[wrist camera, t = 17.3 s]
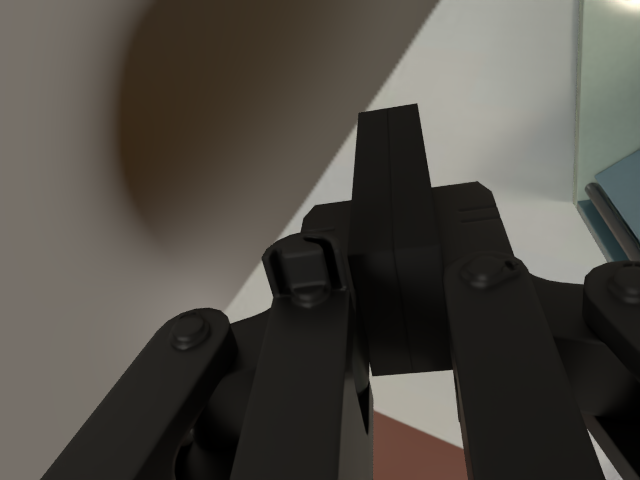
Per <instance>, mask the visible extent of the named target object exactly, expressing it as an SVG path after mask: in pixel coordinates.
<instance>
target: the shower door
mask: <svg viewBox="0 0 640 480" xmlns="http://www.w3.org/2000/svg"><path fill="white" fill-rule="evenodd" d="M595 178H596V180H597V181H598V183H599V184H600V186H601V187H602V189H603V190H604V191H605V193H606V194H607V196H608V197H609V198H610V200H611V201H612V203H613V204H614V206H615V207H616V208H617V210H618V211H619V213H620V214H621V216H622V217H623V218H624V220H625V221H626V223H627V224H628V225H629V227H630V228H631V230H632V231H633V233H634V234H635V235H636V237H637V238H638V240H639V241H640V150H638V151H636V152H635V153H633V154H631V155H630V156H628V157H626V158H624V159H623V160H621V161H619V162H618V163H616V164H614V165H613V166H611V167H609V168H607V169H606V170H604V171H602V172H601V173H599V174H597V175H595Z"/></svg>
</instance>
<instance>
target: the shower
mask: <svg viewBox="0 0 640 480" xmlns="http://www.w3.org/2000/svg"><path fill="white" fill-rule="evenodd" d="M638 150H640V0H580V1H579V32H578V64H577V95H576V126H575V157H574V189H573V204H574V206H575V207H576V209H577V211H578V212H579V214H580V216H581V218H582V219H583V221H584V223H585V224H586V226H587V228H588V230H589V231H590V233H591V235H592V236H593V238H594V240H595V242H596V243H597V245H598V247H599V248H600V250H601V252H602V253H603V255H604V257H605V259H606V260H607V262H615V261H623V260H629V261H640V241H639V240H638V238H637V237H636V235H635V234H634V233H633V231H632V230H631V228H630V227H629V225H628V224H627V223H626V221H625V220H624V218H623V217H622V216H621V214H620V213H619V211H618V210H617V208H616V207H615V206H614V204H613V203H612V201H611V200H610V198H609V197H608V196H607V194H606V193H605V191H604V190H603V189H602V187H601V186H600V184H599V183H598V181H597V180H596V178H595V175H597V174H599V173H601V172H602V171H604V170H606V169H607V168H609V167H611V166H613V165H614V164H616V163H618V162H619V161H621V160H623V159H624V158H626V157H628V156H630V155H631V154H633V153H635V152H636V151H638Z"/></svg>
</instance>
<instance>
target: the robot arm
mask: <svg viewBox="0 0 640 480" xmlns="http://www.w3.org/2000/svg"><path fill="white" fill-rule="evenodd" d="M262 261H263V265H264V268H265V271H266V275H267V278H268V281H269V284H270V288H271V291H272V294H273V301H272V305H271V308H269V309H268V310H266V311H264V312H262V313H260V314H257V315H255V316H252V317H249V318H246V319H243V320H240V321H237V322H234V323H231V324H230V322H229V319H228V317H227V316H226V315H225V314H224V313H223V312H222V311H220V310H217V309H212V308H200V309H193V310H190V311H186V312H184V313H181V314H179V315H177V316H176V317H174V318H172V319H171V320H169V321H167V322H166V323H165V324H164V325H163V326H162V327H161V328H160V329H159V330H158V331H157V332H156V333H155V335H154V336H153V337H152V338H151V340H150V341H149V342H148V343H147V345H146V346H145V347H144V349H143V350H142V351H141V352H140V353H139V355H138V356H137V357H136V359H135V360H134V361H133V362H132V364H131V365H130V366H129V368H128V369H127V370H126V371H125V373H124V374H123V375H122V376H121V378H120V379H119V380H118V382H117V383H116V384H115V385H114V387H113V388H112V389H111V390H110V392H109V393H108V394H107V395H106V397H105V398H104V399H103V401H102V402H101V403H100V404H99V406H98V407H97V408H96V410H95V411H94V412H93V413H92V414H91V416H90V417H89V418H88V420H87V421H86V422H85V423H84V425H83V426H82V427H81V428H80V430H79V431H78V432H77V433H76V435H75V436H74V437H73V439H72V440H71V441H70V443H69V444H68V445H67V446H66V448H65V449H64V450H63V451H62V453H61V454H60V455H59V456H58V458H57V459H56V460H55V462H54V463H53V464H52V465H51V467H50V468H49V469H48V470H47V472H46V473H45V474H44V475H43V477H42V478H41V479H40V480H373V395H372V390H371V385H370V381H369V362H370V367H371V372H372V376H383V375H395V374H408V373H420V372H432V371H445V370H453V374H454V383H455V392H456V401H457V410H458V419H459V422H460V427H461V433H462V440H463V447H464V454H465V461H466V467H467V475H468V480H606V479H605V476H604V474H603V471H602V468H601V466H600V463H599V460H598V458H597V455H596V452H595V449H594V447H593V444H592V441H591V439H590V436H589V433H588V430H589V432H590V433H591V435H592V436H593V437H594V439H595V440H596V442H597V443H598V445H599V446H600V447H601V449H602V450H603V452H604V453H605V454H606V456H607V457H608V459H609V460H610V462H611V463H612V464H613V466H614V467H615V469H616V470H617V472H618V473H619V474H620V476H621V477H622V479H623V480H640V261H629V260H623V261H615V262H608V263H605V264H603V265H600V266H598V267H595V268H593V269H592V270H591V271H590V272H589V273H588V274H587V275H586V276H585V280H584V285H583V284H572V283H562V282H556V281H549V280H546V279H543V278H539V277H536V276H534V275H532V274H531V273H529V271H528V269H527V267H526V266H525V265H524V263H523V262H522V261H521V260H520V259H518V258H516V257H514V254H513V251H512V248H511V245H510V242H509V240H508V237H507V234H506V231H505V228H504V225H503V223H502V220H501V218H500V214H499V211H498V208H497V207H496V203H495V200H494V197H493V194H492V191H490V190H489V189H487V188H486V187H485V186H483V185H482V184H480V183H479V182H478V181H476V182H469V183H462V184H454V185H447V186H440V187H432V188H431V182H430V176H429V170H428V164H427V158H426V152H425V146H424V141H423V135H422V129H421V123H420V117H419V111H418V105H417V103H416V104H410V105H404V106H398V107H392V108H386V109H379V110H373V111H367V112H361V113H359V115H358V127H357V140H356V152H355V164H354V177H353V189H352V200H350V201H342V202H335V203H328V204H320V205H315V206H314V207H313V208H312V209H311V210H310V212H309V213H308V214H307V215H306V216H305V217H304V218H303V223H302V228H301V233H296V234H292V235H289V236H287V237H285V238H282V239H280V240H278V241H276V242H275V243H274V244H273V245H271V246H270V247H269V248H267V249H266V251H265V253H264V254H263V256H262ZM586 427H587V428H586ZM587 429H588V430H587Z"/></svg>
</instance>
